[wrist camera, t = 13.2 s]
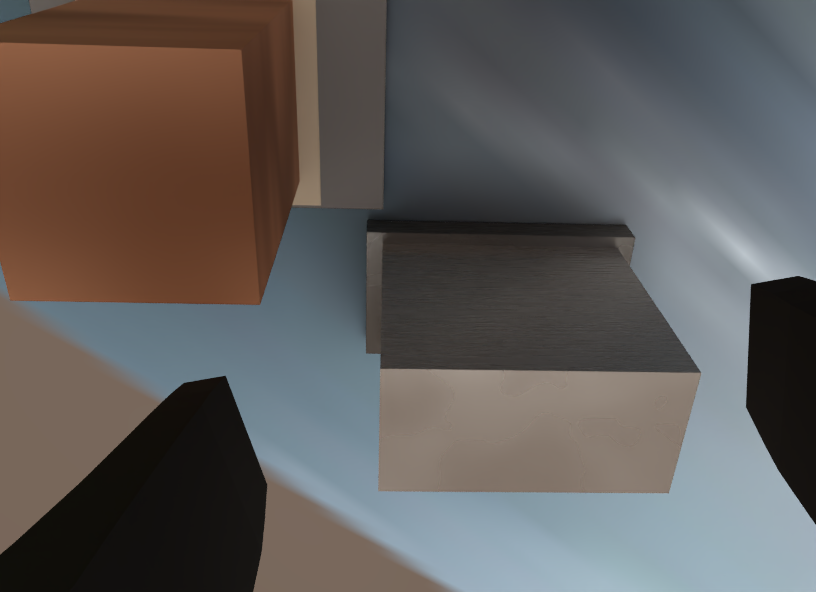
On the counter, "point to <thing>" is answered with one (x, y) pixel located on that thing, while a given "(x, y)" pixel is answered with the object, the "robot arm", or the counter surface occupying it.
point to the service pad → (335, 100)
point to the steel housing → (521, 360)
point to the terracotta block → (146, 150)
